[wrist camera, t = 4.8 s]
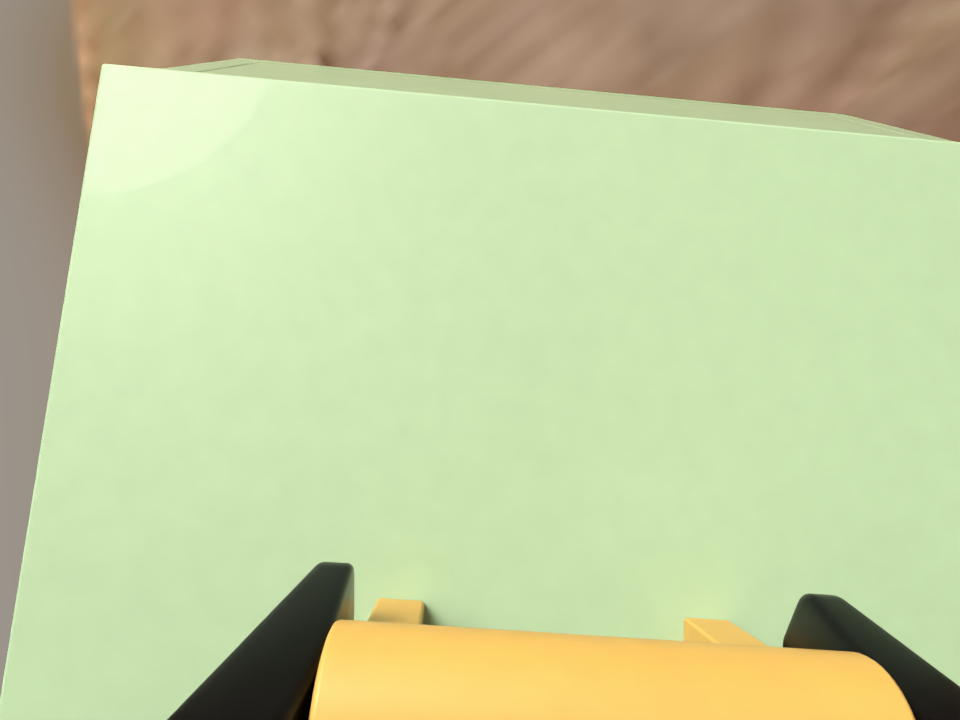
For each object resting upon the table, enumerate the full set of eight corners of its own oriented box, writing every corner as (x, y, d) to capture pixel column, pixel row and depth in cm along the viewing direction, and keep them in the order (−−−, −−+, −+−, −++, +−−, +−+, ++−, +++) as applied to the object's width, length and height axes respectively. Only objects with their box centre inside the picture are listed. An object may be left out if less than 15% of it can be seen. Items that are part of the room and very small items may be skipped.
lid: (1032, 946, 10) (1526, 1376, 5) (-3, 897, 9) (-433, 1329, 5) (1004, 165, 11) (1365, -14, 7) (123, 85, 11) (-109, -164, 6)
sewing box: (723, 482, 22) (795, 619, 17) (270, 449, 21) (204, 580, 16) (844, 114, 16) (1005, 153, 11) (238, 58, 16) (124, 72, 11)
